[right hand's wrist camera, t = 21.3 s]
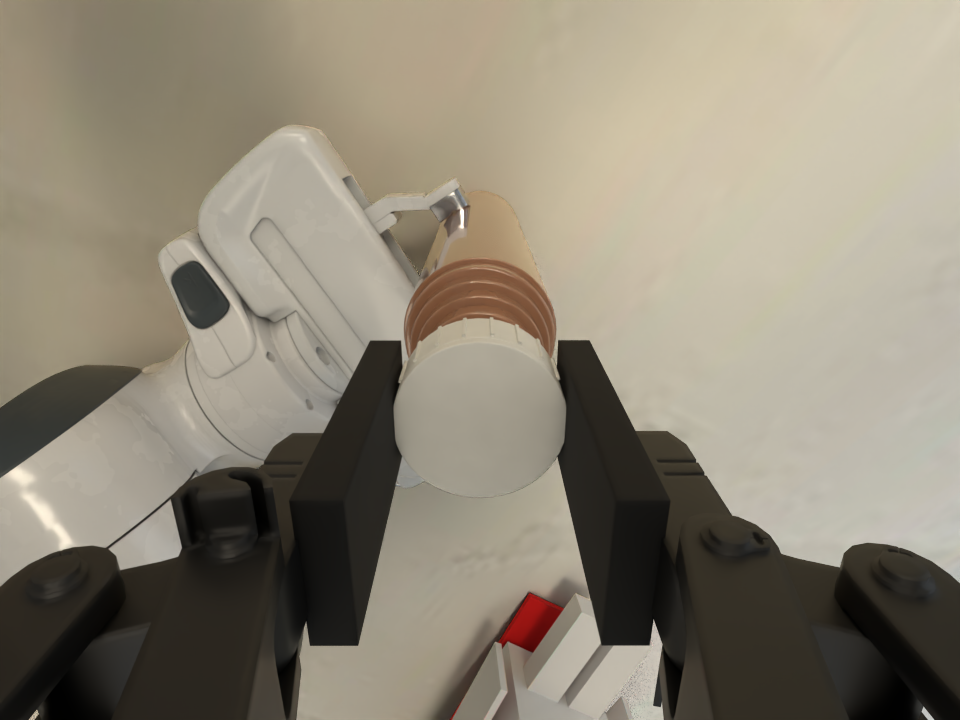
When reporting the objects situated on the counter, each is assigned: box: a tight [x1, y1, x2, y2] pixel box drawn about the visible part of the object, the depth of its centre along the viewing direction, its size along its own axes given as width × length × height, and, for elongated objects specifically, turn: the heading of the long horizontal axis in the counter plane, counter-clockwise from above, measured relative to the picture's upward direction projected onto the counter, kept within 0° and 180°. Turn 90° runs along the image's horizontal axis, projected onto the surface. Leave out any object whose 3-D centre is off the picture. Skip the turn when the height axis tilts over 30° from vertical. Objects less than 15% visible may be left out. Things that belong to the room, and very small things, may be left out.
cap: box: [393, 317, 566, 498], centre depth 14 cm, size 4×4×2 cm
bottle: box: [404, 191, 556, 359], centre depth 25 cm, size 5×5×25 cm
